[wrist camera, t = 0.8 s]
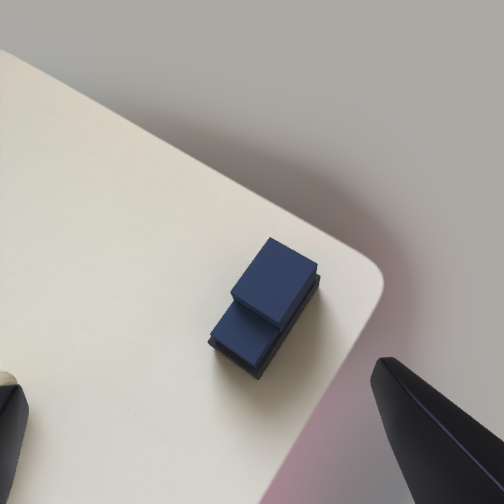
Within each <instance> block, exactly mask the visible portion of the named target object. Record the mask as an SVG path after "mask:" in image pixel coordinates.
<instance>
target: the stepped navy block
mask: <svg viewBox="0 0 504 504" xmlns="http://www.w3.org/2000/svg"><path fill="white" fill-rule="evenodd" d="M317 265H318V264H317V263H315V262H313V261H312V260H310V259H308V258H306V257H305V256H303V255H301V254H299V253H297V252H296V251H294V250H292V249H290V248H289V247H287V246H285V245H283V244H281V243H280V242H278V241H276V240H274V239H273V238H271V237H270V238H269V239H268V240H267V242H266V243H265V245H264V246H263V247H262V249H261V250H260V251H259V253H258V254H257V256H256V257H255V258H254V260H253V261H252V263H251V264H250V265H249V267H248V268H247V269H246V271H245V272H244V274H243V275H242V276H241V278H240V279H239V280H238V282H237V283H236V285H235V286H234V287H233V289H232V290H231V295H232V297H233V299H234V301H233V303H232V304H231V305H230V307H229V308H228V310H227V311H226V312H225V314H224V315H223V317H222V318H221V319H220V321H219V322H218V324H217V325H216V326H215V328H214V329H213V331H212V332H211V333H210V335H211V337H210V339H209V340H208V344H209V345H211V346H212V347H213V348H214V349H215V350H217V351H218V352H219V353H221V354H222V355H224V356H225V357H226V358H228V359H229V360H231V361H232V362H233V363H235V364H236V365H238V366H239V367H240V368H242V369H243V370H245V371H246V372H247V373H249V374H250V375H252V376H253V377H254V378H256V379H257V380H259V379H260V377H261V376H262V374H263V372H264V371H265V369H266V368H267V366H268V365H269V363H270V361H271V360H272V358H273V357H274V355H275V354H276V352H277V351H278V349H279V347H280V346H281V344H282V343H283V341H284V340H285V338H286V336H287V335H288V333H289V332H290V330H291V329H292V327H293V326H294V324H295V322H296V321H297V319H298V318H299V316H300V315H301V313H302V312H303V310H304V308H305V307H306V305H307V304H308V302H309V301H310V299H311V297H312V296H313V294H314V293H315V291H316V290H317V288H318V287H319V282H320V275H318V274H316V271H317Z"/></svg>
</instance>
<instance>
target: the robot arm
mask: <svg viewBox="0 0 504 504" xmlns="http://www.w3.org/2000/svg"><path fill="white" fill-rule="evenodd" d="M370 382H371V387H372V391H373V394H374V397H375V400H376V403H377V406H378V410H379V413H380V416H381V419H382V422H383V425H384V429H385V432H386V435H387V437H388V440H389V443H390V445H391V447H392V450H393V452H394V455H395V457H396V459H397V462H398V464H399V467H400V469H401V471H402V473H403V476H404V478H405V480H406V483H407V485H408V488H409V490H410V492H411V495H412V497H413V499H414V502H415V504H504V442H503V441H502V440H501V439H500V438H498V437H497V436H496V435H494V434H493V433H492V432H490V431H489V430H488V429H486V428H485V427H484V426H482V425H481V424H480V423H479V422H477V421H476V420H475V419H473V418H472V417H471V416H470V415H468V414H467V413H466V412H464V411H463V410H462V409H461V408H459V407H458V406H457V405H455V404H454V403H453V402H451V401H450V400H449V399H447V398H446V397H445V396H444V395H442V394H441V393H440V392H438V391H437V390H436V389H434V388H433V387H432V386H431V385H429V384H428V383H427V382H425V381H424V380H423V379H421V378H420V377H419V376H418V375H416V374H415V373H414V372H412V371H411V370H410V369H408V368H407V367H406V366H405V365H403V364H402V363H401V362H399V361H398V360H397V359H395V358H393V357H385V358H379V359H378V360H377V362H376V365H375V367H374V370H373V373H372V375H371V380H370ZM28 414H29V407H28V403H27V400H26V398H25V395H24V392H23V389H22V387H21V386H20V385H19V384H9V385H1V386H0V504H6V502H7V499H8V497H9V493H10V490H11V487H12V484H13V480H14V476H15V472H16V467H17V463H18V459H19V454H20V450H21V446H22V441H23V437H24V432H25V428H26V424H27V419H28Z"/></svg>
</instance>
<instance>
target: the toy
mask: <svg viewBox="0 0 504 504" xmlns="http://www.w3.org/2000/svg"><path fill="white" fill-rule="evenodd" d="M9 384H17V380H16V378H15V377H14V376H13V375H12V374H10V373H8V372H3V371H0V386H1V385H9Z"/></svg>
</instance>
